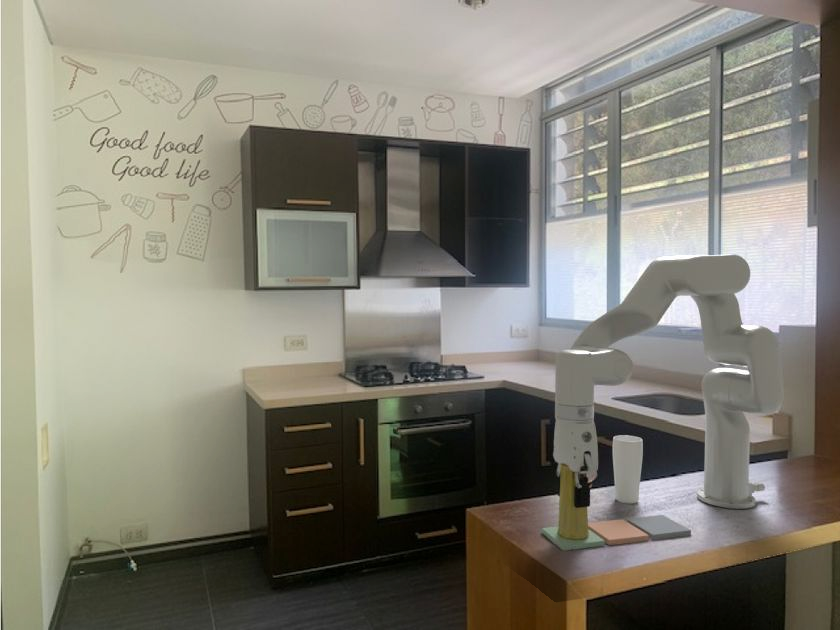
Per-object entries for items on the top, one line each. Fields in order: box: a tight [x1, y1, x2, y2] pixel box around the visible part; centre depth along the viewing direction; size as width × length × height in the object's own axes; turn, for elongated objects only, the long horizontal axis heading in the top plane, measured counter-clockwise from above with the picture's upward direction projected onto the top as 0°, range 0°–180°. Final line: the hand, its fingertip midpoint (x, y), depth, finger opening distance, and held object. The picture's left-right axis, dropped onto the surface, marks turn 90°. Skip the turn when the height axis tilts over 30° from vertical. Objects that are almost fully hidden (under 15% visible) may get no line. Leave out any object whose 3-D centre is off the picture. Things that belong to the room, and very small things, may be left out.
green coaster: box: [541, 525, 606, 551], centre depth 124 cm, size 9×9×1 cm
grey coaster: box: [626, 514, 692, 540], centre depth 130 cm, size 9×9×1 cm
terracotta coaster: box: [588, 518, 650, 546], centre depth 127 cm, size 9×9×1 cm
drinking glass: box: [612, 434, 644, 505], centre depth 147 cm, size 7×7×15 cm
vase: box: [557, 463, 589, 540], centre depth 124 cm, size 6×6×14 cm
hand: (573, 500), depth 124 cm, fingers open, 5 cm apart
